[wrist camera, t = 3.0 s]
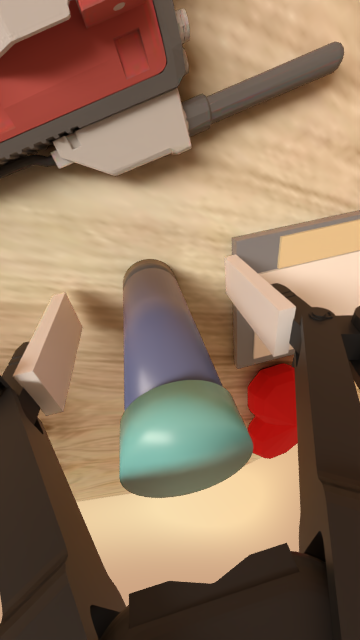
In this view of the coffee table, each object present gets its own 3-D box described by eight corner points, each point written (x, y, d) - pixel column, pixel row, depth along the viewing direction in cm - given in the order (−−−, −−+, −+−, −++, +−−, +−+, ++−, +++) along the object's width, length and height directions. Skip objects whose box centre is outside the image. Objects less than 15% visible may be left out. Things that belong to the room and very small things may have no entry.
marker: (129, 313, 18) (139, 508, 8) (113, 264, 15) (98, 453, 6) (181, 301, 18) (251, 475, 8) (172, 251, 16) (256, 409, 6)
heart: (321, 340, 26) (239, 365, 24) (356, 361, 23) (263, 392, 21) (308, 417, 32) (240, 442, 30) (335, 444, 28) (260, 475, 26)
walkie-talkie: (-18, 233, 13) (320, 91, 13) (-69, 262, 10) (397, 67, 9) (-227, -13, 8) (331, -275, 8) (-495, -142, 5) (518, -654, 4)
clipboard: (234, 362, 23) (238, 370, 22) (231, 237, 16) (237, 242, 15) (367, 328, 24) (375, 334, 23) (420, 197, 17) (435, 199, 16)
